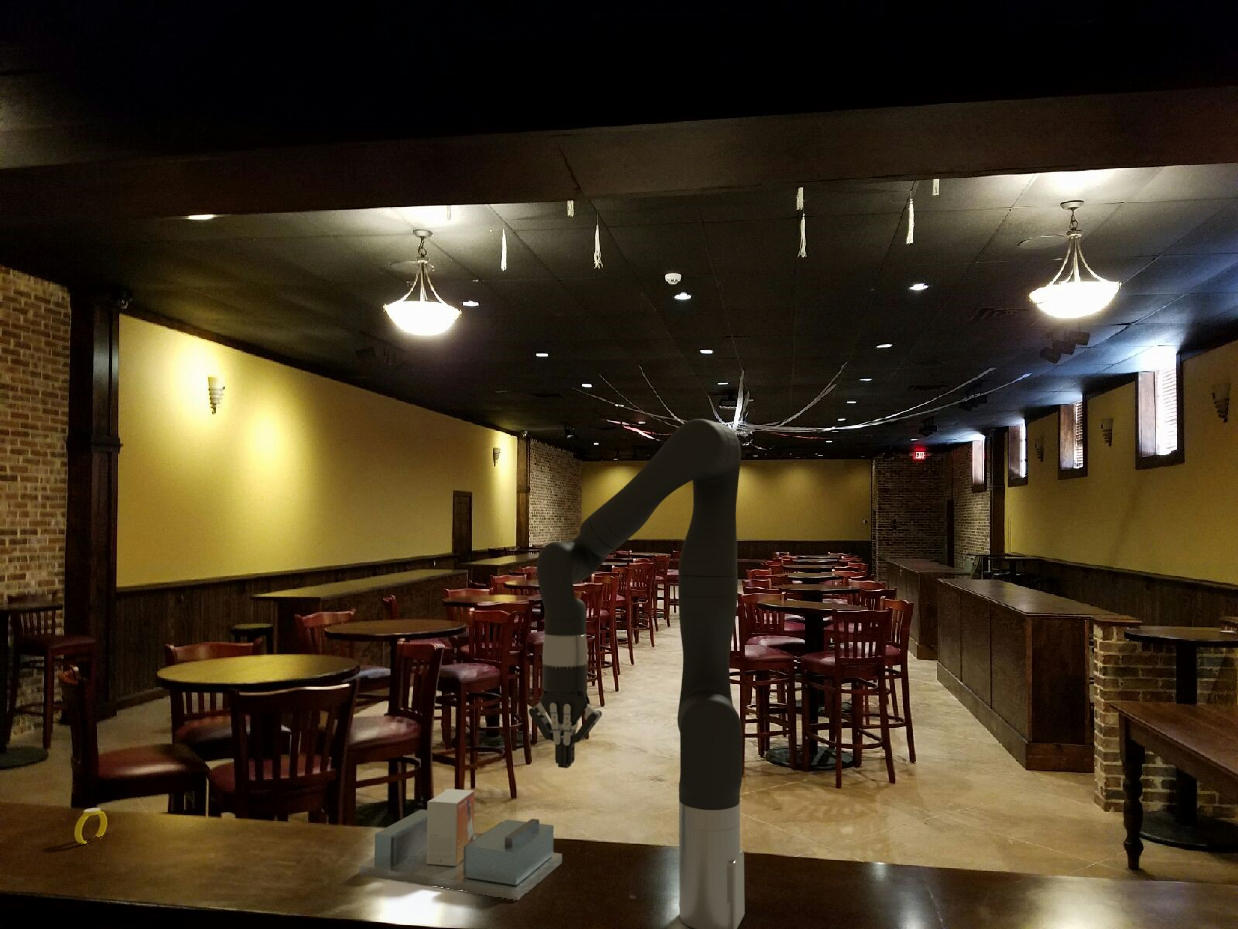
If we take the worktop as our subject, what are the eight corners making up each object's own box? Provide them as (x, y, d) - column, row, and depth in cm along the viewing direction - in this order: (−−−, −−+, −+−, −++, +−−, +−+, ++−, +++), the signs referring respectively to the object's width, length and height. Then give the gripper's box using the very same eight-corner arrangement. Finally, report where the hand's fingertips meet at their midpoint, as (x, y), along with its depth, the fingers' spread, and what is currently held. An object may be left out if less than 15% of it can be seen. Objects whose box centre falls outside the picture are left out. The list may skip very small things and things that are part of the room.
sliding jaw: (553, 855, 153) (553, 817, 153) (516, 885, 140) (516, 843, 140) (502, 847, 156) (502, 810, 157) (461, 876, 143) (462, 836, 144)
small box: (456, 867, 148) (457, 803, 148) (425, 864, 149) (426, 801, 150) (474, 850, 155) (475, 790, 156) (445, 848, 157) (446, 787, 157)
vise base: (562, 862, 154) (562, 824, 154) (517, 901, 138) (517, 858, 138) (415, 841, 164) (416, 805, 165) (358, 874, 148) (359, 835, 149)
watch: (97, 838, 167) (100, 805, 168) (108, 839, 166) (112, 806, 167) (69, 846, 161) (73, 812, 162) (81, 848, 161) (85, 814, 162)
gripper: (610, 660, 148) (609, 764, 147) (539, 656, 153) (538, 757, 152) (593, 666, 141) (593, 776, 140) (519, 662, 146) (518, 768, 145)
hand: (564, 766), depth 146 cm, fingers closed
